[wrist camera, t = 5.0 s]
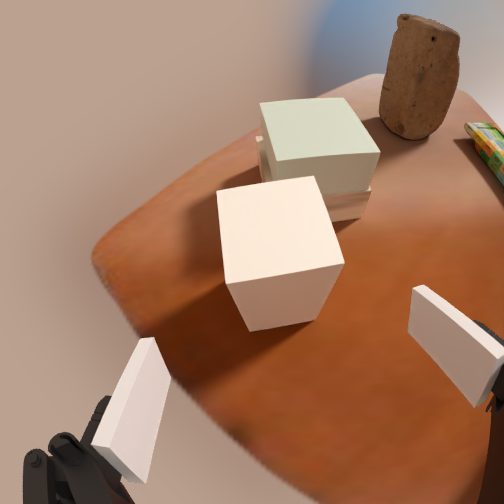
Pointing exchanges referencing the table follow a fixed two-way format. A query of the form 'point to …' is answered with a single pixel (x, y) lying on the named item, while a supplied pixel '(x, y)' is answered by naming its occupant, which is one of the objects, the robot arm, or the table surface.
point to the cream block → (278, 251)
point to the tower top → (318, 143)
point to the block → (419, 77)
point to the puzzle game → (489, 146)
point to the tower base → (336, 203)
